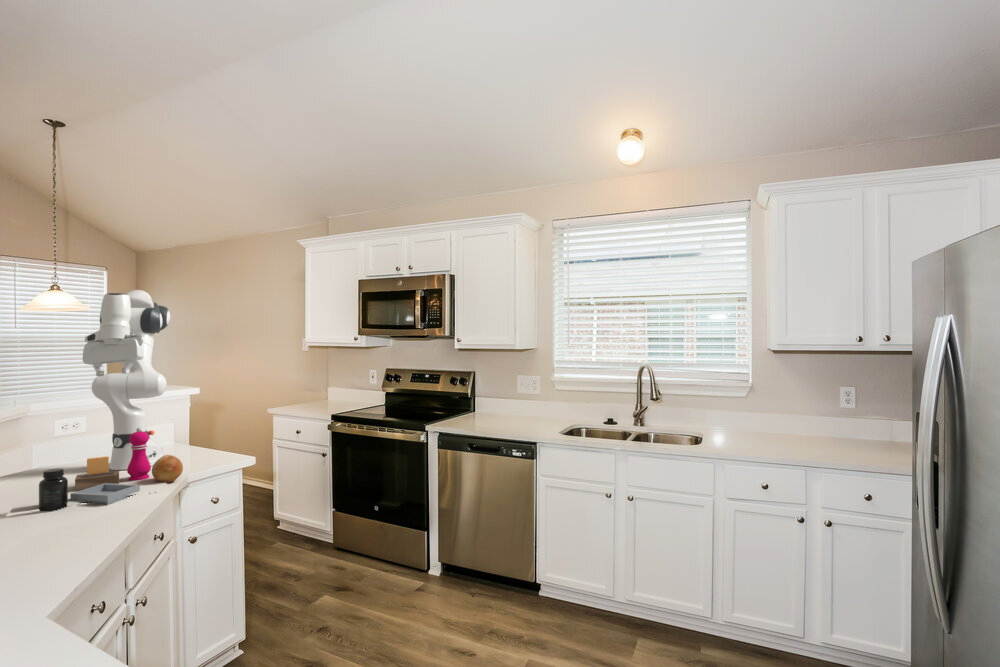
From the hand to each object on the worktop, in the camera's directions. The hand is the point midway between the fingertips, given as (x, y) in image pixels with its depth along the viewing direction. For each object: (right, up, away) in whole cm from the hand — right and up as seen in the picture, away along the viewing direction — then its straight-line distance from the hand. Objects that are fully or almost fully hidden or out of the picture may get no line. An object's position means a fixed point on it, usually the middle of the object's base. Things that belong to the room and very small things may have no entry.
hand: (112, 374), depth 182 cm
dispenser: (-6, -41, +1) cm, 41 cm away
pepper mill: (+1, -41, +11) cm, 42 cm away
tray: (+5, -40, -10) cm, 42 cm away
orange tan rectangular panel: (-6, -40, +1) cm, 40 cm away
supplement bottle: (-4, -41, -20) cm, 45 cm away
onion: (+13, -41, +9) cm, 44 cm away
